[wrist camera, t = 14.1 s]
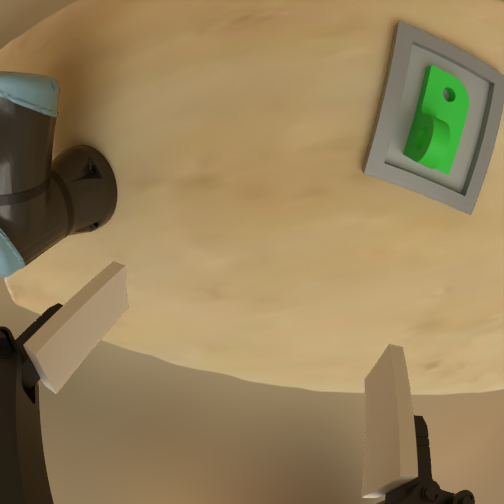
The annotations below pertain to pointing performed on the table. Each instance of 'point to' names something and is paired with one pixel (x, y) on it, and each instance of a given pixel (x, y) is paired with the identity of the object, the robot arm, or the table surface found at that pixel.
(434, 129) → the mechanical part
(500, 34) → the table surface
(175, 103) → the table surface
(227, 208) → the table surface
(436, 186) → the locating tray
